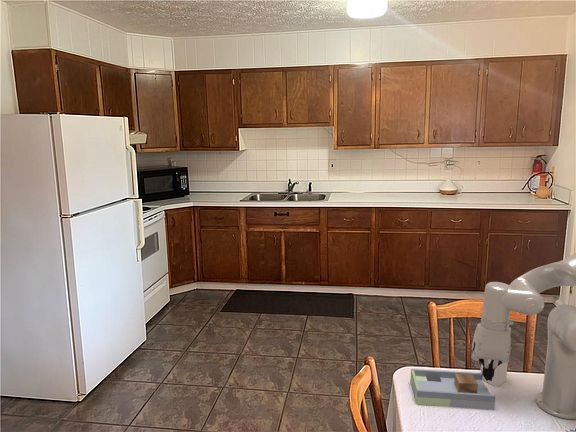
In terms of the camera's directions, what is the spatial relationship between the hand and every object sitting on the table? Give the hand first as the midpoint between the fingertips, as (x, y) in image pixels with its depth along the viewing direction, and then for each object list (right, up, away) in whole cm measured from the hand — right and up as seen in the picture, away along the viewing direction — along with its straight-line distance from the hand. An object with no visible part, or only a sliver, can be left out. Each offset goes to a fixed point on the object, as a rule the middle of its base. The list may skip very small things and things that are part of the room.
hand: (487, 378), depth 136 cm
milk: (+7, -5, +11) cm, 14 cm away
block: (-6, -4, +1) cm, 7 cm away
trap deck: (-11, -6, +3) cm, 13 cm away
